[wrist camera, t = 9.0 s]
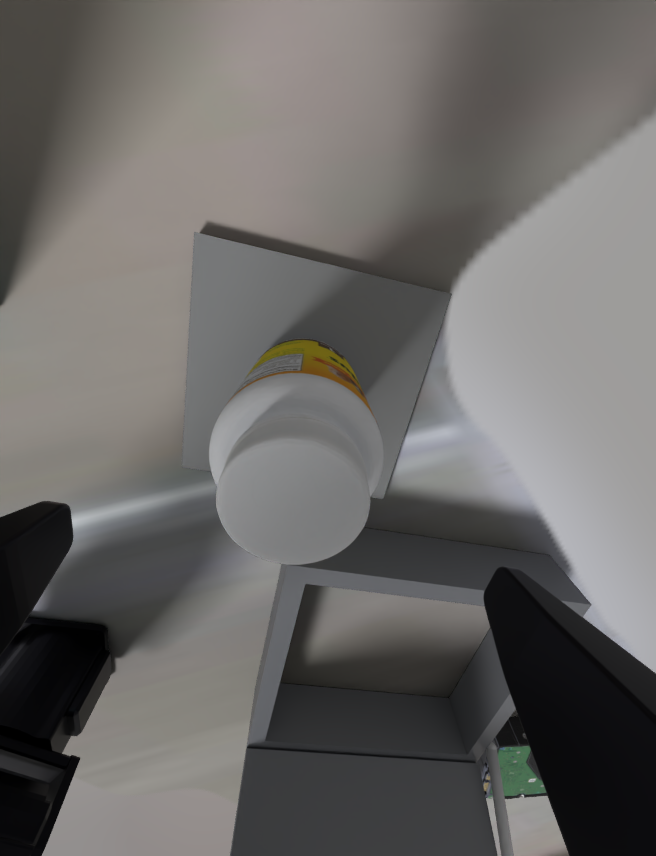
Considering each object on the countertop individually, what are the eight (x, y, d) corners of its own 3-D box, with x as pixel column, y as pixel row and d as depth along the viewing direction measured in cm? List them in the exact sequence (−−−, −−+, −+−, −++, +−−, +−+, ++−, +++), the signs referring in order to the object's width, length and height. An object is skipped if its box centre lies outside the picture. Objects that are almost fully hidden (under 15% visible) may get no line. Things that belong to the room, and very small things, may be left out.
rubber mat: (185, 461, 20) (181, 467, 20) (198, 233, 16) (194, 231, 15) (381, 493, 22) (382, 499, 21) (447, 293, 17) (451, 293, 16)
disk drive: (633, 699, 33) (482, 713, 33) (660, 734, 31) (497, 750, 30) (603, 756, 38) (469, 768, 37) (625, 791, 35) (481, 805, 35)
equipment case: (247, 724, 31) (180, 1182, 16) (291, 516, 22) (238, 1122, 6) (447, 739, 34) (565, 1150, 18) (562, 557, 24) (1016, 1072, 9)
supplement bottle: (369, 419, 19) (423, 559, 10) (274, 449, 19) (237, 610, 10) (338, 319, 17) (370, 371, 7) (232, 355, 17) (135, 448, 8)
